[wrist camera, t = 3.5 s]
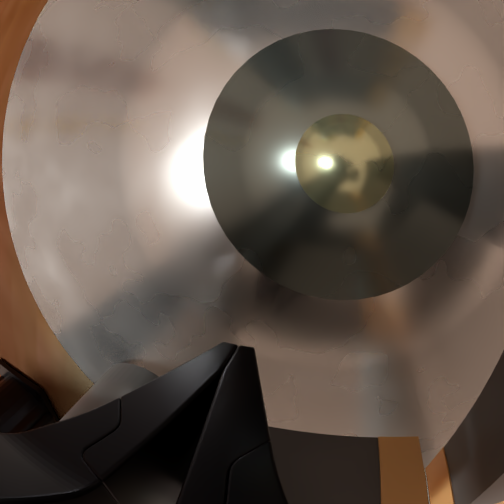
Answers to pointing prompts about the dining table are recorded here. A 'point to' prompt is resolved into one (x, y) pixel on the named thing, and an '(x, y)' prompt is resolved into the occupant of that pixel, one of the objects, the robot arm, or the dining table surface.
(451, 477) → the grey and orange bar
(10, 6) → the dining table surface
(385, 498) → the foot screw
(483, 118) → the plate
